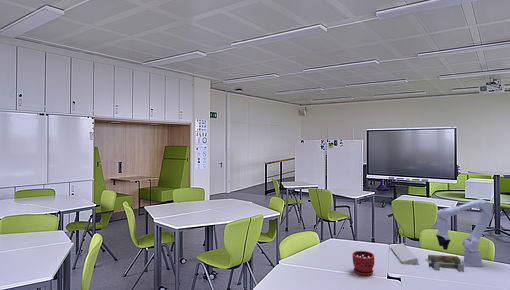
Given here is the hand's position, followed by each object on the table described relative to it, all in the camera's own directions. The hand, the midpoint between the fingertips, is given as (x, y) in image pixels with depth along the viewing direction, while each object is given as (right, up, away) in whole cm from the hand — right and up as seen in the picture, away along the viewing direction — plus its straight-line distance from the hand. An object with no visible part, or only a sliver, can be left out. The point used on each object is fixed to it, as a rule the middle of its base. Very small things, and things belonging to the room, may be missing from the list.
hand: (443, 247), depth 219 cm
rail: (0, -9, 0) cm, 9 cm away
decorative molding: (-21, -11, +14) cm, 27 cm away
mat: (0, -10, 0) cm, 10 cm away
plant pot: (-60, -11, -17) cm, 63 cm away
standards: (-5, -10, -12) cm, 16 cm away
